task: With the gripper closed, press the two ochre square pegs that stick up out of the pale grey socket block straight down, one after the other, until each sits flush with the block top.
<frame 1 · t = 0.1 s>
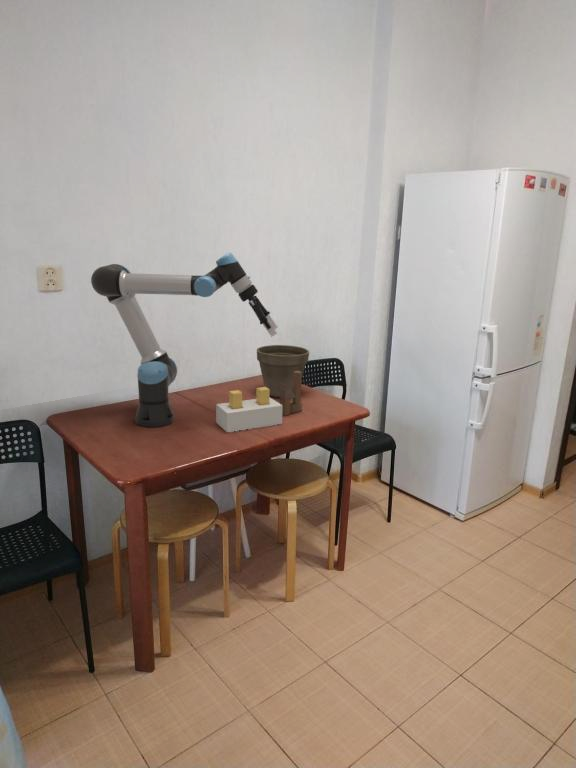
hand: (274, 332, 221), 36 cm above the table, tool tilted 35°, fingers open, 13 cm apart
peg near: (235, 401, 213), point 10 cm above the table, slide at 6.0 cm
peg far: (262, 397, 219), point 10 cm above the table, slide at 6.0 cm
socket block: (249, 423, 219), on the table
plant pot: (281, 393, 260), on the table
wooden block: (290, 413, 233), on the table
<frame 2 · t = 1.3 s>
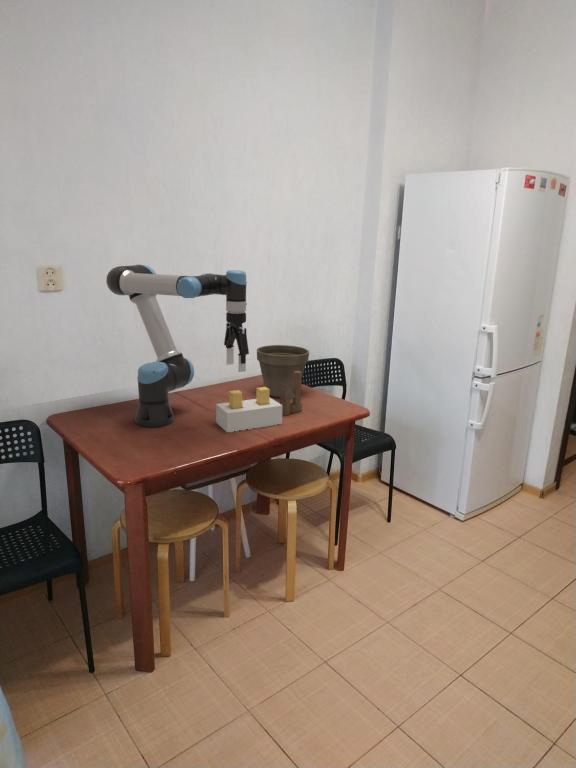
hand: (235, 367, 210), 24 cm above the table, tool pointing down, fingers open, 11 cm apart
nothing on the table moved.
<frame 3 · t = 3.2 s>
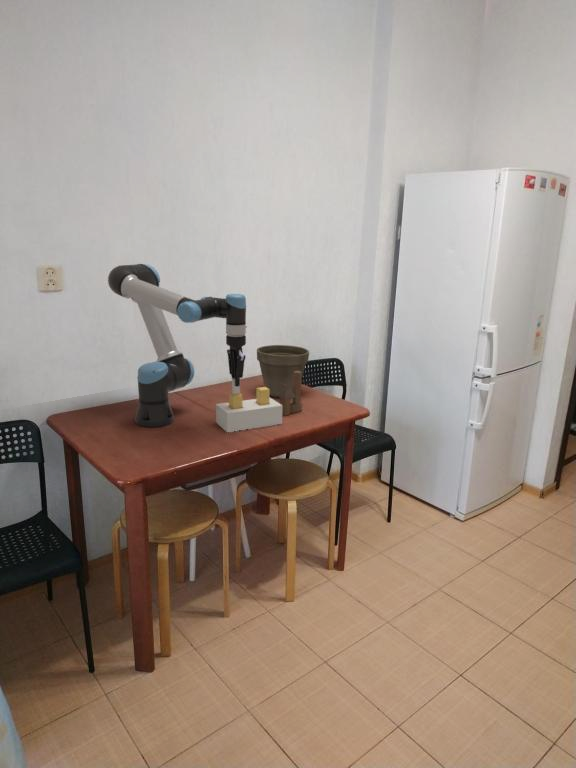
hand: (236, 393, 212), 14 cm above the table, tool pointing down, fingers closed
peg near: (235, 402, 213), point 10 cm above the table, slide at 5.2 cm, touching gripper
everything else where it was.
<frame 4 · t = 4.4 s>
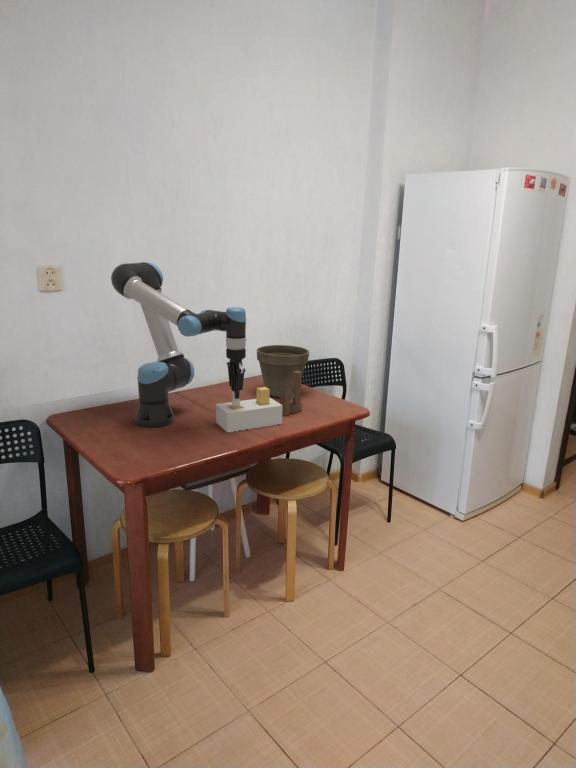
hand: (235, 405, 214), 8 cm above the table, tool pointing down, fingers closed
peg near: (235, 415, 215), point 4 cm above the table, slide at 0.1 cm, touching gripper
everything else where it was.
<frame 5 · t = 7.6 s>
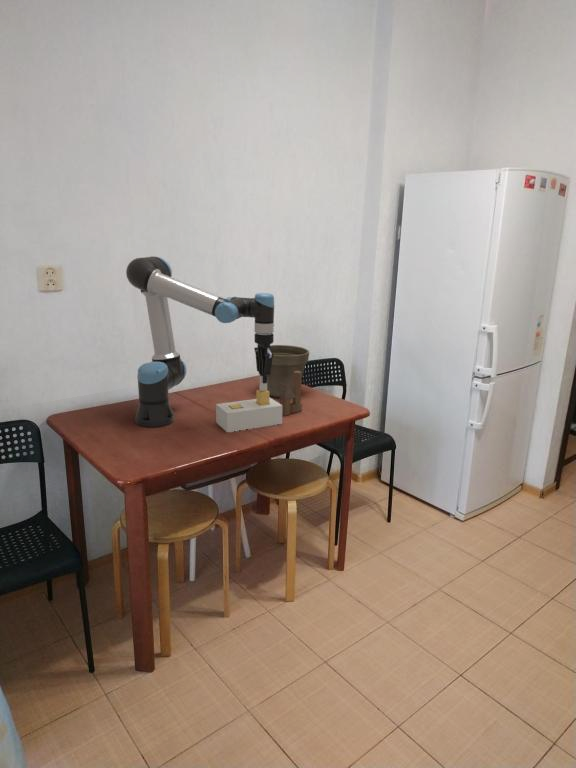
hand: (263, 390, 218), 14 cm above the table, tool pointing down, fingers closed
peg near: (235, 415, 215), point 4 cm above the table, slide at 0.1 cm
peg far: (262, 399, 219), point 9 cm above the table, slide at 5.1 cm, touching gripper
everything else where it was.
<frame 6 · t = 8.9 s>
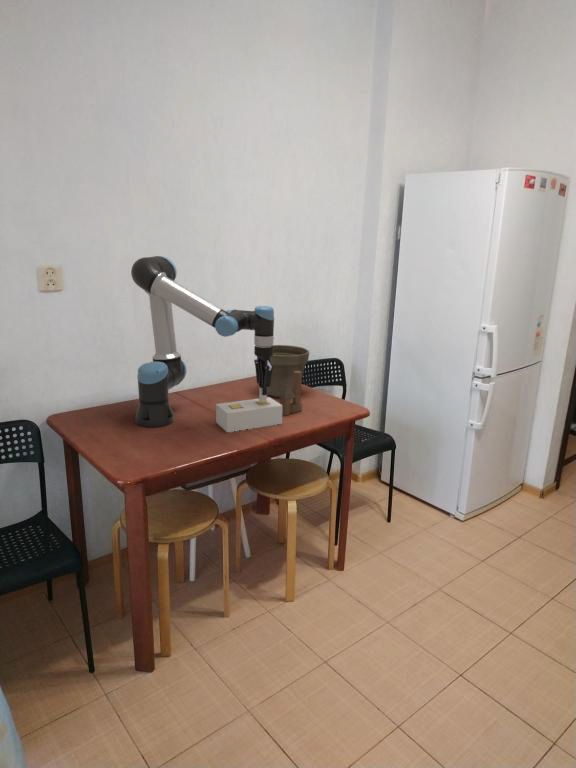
hand: (262, 401, 219), 8 cm above the table, tool pointing down, fingers closed
peg far: (262, 411, 220), point 4 cm above the table, slide at 0.1 cm, touching gripper
everything else where it was.
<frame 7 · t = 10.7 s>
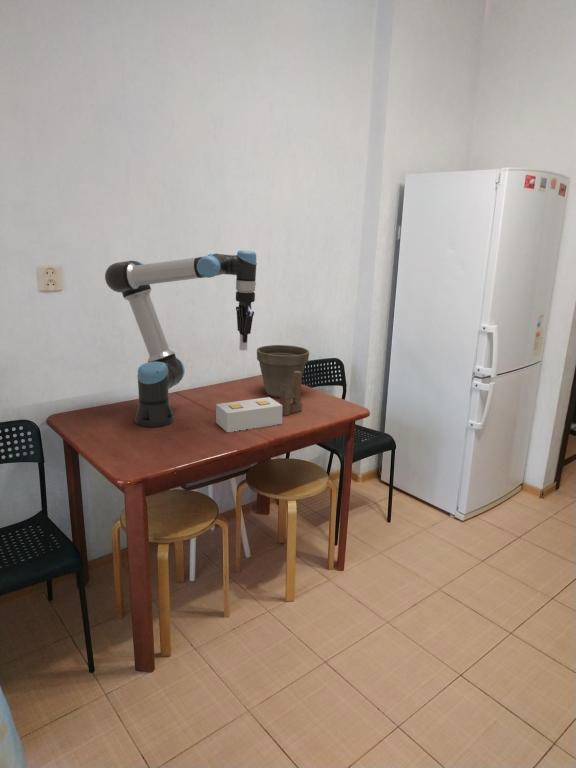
hand: (243, 349, 217), 29 cm above the table, tool pointing down, fingers closed
peg far: (262, 411, 220), point 4 cm above the table, slide at 0.1 cm
everything else where it was.
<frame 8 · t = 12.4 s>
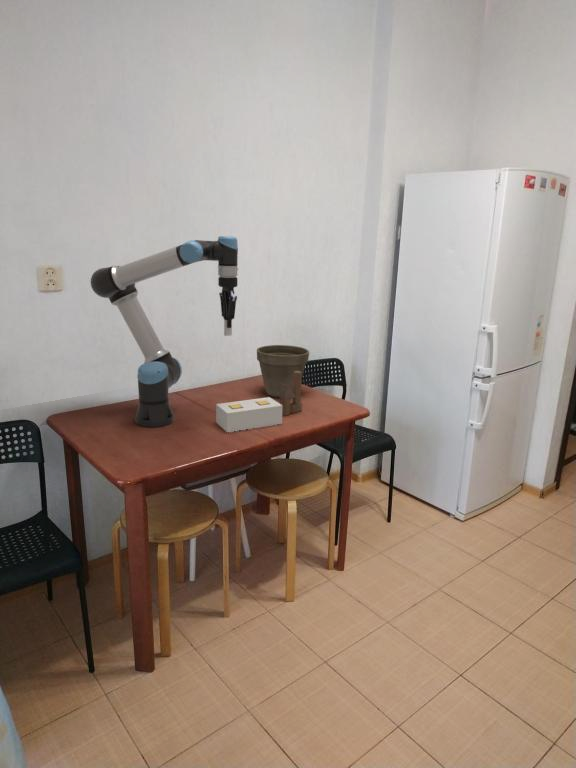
hand: (227, 335, 218), 34 cm above the table, tool pointing down, fingers closed
nothing on the table moved.
at the end: peg near slide at 0.1 cm; peg far slide at 0.1 cm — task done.
